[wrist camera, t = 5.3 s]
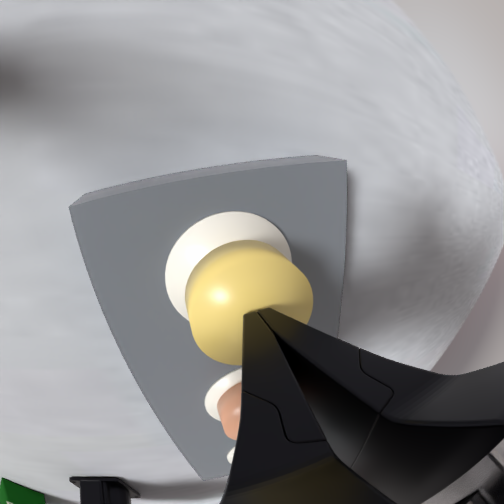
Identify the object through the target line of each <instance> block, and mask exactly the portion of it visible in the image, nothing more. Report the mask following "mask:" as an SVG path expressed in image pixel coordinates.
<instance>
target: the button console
mask: <svg viewBox="0 0 504 504" xmlns="http://www.w3.org/2000/svg"><path fill="white" fill-rule="evenodd" d="M69 210H70V214H71V218H72V222H73V226H74V229H75V233H76V237H77V240H78V243H79V247H80V250H81V253H82V256H83V259H84V263H85V266H86V269H87V271H88V274H89V277H90V280H91V283H92V286H93V288H94V291H95V294H96V296H97V299H98V301H99V304H100V306H101V309H102V311H103V314H104V316H105V318H106V321H107V323H108V325H109V328H110V330H111V332H112V334H113V336H114V339H115V341H116V343H117V345H118V347H119V349H120V351H121V353H122V355H123V357H124V359H125V361H126V363H127V365H128V367H129V369H130V371H131V373H132V375H133V377H134V378H135V380H136V382H137V384H138V386H139V387H140V389H141V391H142V393H143V394H144V396H145V398H146V400H147V401H148V403H149V405H150V406H151V408H152V410H153V411H154V413H155V414H156V416H157V418H158V419H159V421H160V422H161V424H162V425H163V427H164V428H165V430H166V431H167V433H168V434H169V436H170V437H171V439H172V440H173V442H174V443H175V445H176V446H177V447H178V449H179V450H180V452H181V453H182V454H183V456H184V457H185V458H186V460H187V461H188V462H189V464H190V465H191V466H192V468H193V469H194V470H195V471H196V473H197V474H198V475H199V476H200V478H201V479H202V480H203V481H205V480H210V479H215V478H219V477H223V476H227V475H229V473H230V469H231V464H232V459H233V454H234V450H235V445H236V440H233V439H231V438H229V437H228V436H227V435H226V434H225V432H224V429H223V426H222V423H221V420H220V417H219V414H218V410H217V403H218V400H219V399H220V397H221V396H222V395H223V393H225V392H226V391H227V390H228V389H229V388H231V387H232V386H234V385H236V384H238V383H240V382H242V365H229V364H224V363H221V362H218V361H216V360H213V359H212V358H210V357H208V356H207V355H206V354H205V353H204V352H202V350H201V349H200V348H199V347H198V345H197V344H196V342H195V340H194V337H193V334H192V330H191V326H190V322H189V318H188V313H187V309H186V304H185V288H186V284H187V280H188V278H189V276H190V274H191V272H192V270H193V269H194V267H195V266H196V264H197V263H198V262H199V261H200V260H201V259H202V258H203V257H204V256H205V255H206V254H208V253H209V252H210V251H212V250H213V249H215V248H217V247H219V246H221V245H223V244H226V243H229V242H233V241H238V240H256V241H261V242H264V243H267V244H269V245H271V246H273V247H274V248H276V249H277V250H278V251H280V252H281V253H282V254H283V255H284V256H285V257H286V258H287V259H288V260H289V261H290V262H292V263H293V264H294V265H295V266H296V267H297V268H298V269H299V270H300V271H301V272H302V273H303V274H304V275H305V276H306V278H307V279H308V281H309V283H310V286H311V288H312V293H313V309H312V313H311V316H310V319H309V321H308V323H307V325H309V326H311V327H313V328H315V329H318V330H320V331H322V332H324V333H327V334H329V335H331V336H333V337H336V338H337V337H338V329H339V320H340V311H341V301H342V291H343V279H344V265H345V247H346V223H347V160H342V159H337V158H331V157H325V156H318V155H313V156H300V157H288V158H278V159H268V160H259V161H251V162H243V163H235V164H228V165H221V166H214V167H208V168H202V169H196V170H190V171H184V172H179V173H173V174H168V175H163V176H158V177H153V178H148V179H144V180H139V181H135V182H130V183H126V184H122V185H117V186H113V187H109V188H105V189H101V190H98V191H94V192H90V193H86V194H84V195H83V196H82V197H80V198H79V199H78V200H77V201H75V202H74V203H73V204H72V205H70V206H69Z"/></svg>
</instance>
